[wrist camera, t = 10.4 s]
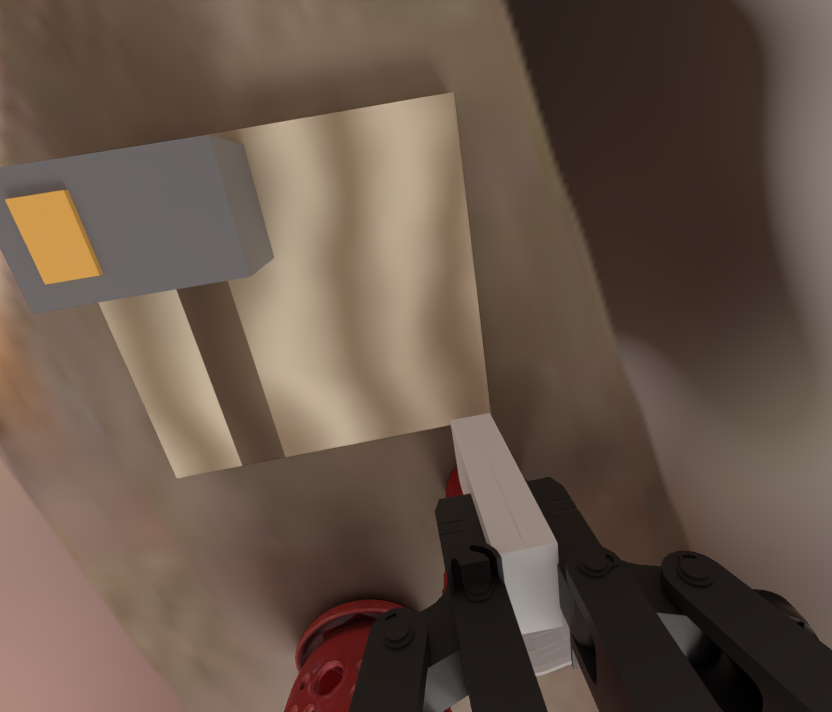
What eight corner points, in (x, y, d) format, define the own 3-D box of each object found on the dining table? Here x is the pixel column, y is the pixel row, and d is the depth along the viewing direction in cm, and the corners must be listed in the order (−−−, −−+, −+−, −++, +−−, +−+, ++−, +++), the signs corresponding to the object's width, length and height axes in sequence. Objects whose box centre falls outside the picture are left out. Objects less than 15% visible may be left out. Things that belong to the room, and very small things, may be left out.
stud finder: (243, 144, 24) (206, 133, 18) (274, 257, 26) (248, 277, 20) (52, 175, 23) (-44, 173, 18) (100, 287, 25) (28, 315, 20)
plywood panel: (449, 97, 25) (453, 91, 24) (486, 407, 32) (491, 417, 31) (55, 165, 24) (36, 164, 23) (185, 465, 32) (176, 478, 30)
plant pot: (280, 678, 41) (246, 864, 30) (313, 572, 37) (288, 741, 25) (415, 693, 43) (431, 869, 32) (460, 595, 39) (496, 758, 28)
